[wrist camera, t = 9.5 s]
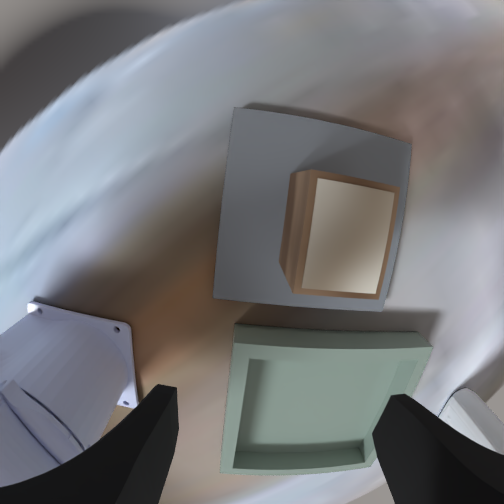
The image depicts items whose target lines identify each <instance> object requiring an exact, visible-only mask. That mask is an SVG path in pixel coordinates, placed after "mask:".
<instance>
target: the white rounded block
mask: <svg viewBox="0 0 504 504" xmlns="http://www.w3.org/2000/svg"><path fill="white" fill-rule="evenodd" d="M438 418H440V419H441V420H442V421H444V422H445V423H447V424H448V425H449V426H451V427H452V428H454V429H455V430H457V431H458V432H460V433H461V434H463V435H465V436H466V437H468V438H469V439H471V440H473V441H475V442H476V443H478V444H480V445H482V446H484V447H486V448H488V449H490V450H493V451H495V452H497V453H500V454H503V455H504V424H503V422H502V421H501V420H500V419H499V418H498V417H497V415H496V414H495V413H494V412H493V411H492V410H491V409H490V408H489V407H488V406H487V404H486V403H485V402H484V401H483V400H482V399H481V398H480V397H479V396H478V395H477V394H476V393H475V392H474V391H471V390H470V389H468V388H463V389H461V390H459V391H457V392H455V393H454V394H453V396H452V397H451V398H450V399H449V401H448V402H447V404H446V405H445V407H444V409H443V410H442V412H441V414H440V416H439V417H438Z"/></svg>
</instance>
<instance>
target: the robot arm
mask: <svg viewBox="0 0 504 504" xmlns="http://www.w3.org/2000/svg"><path fill="white" fill-rule="evenodd" d="M27 308H28V315H27V316H25V317H24V318H23V319H21V320H20V321H18V322H17V323H16V324H14V325H13V326H12V327H10V328H9V329H8V330H6V331H5V332H4V333H2V334H1V335H0V504H158V503H159V500H160V496H161V493H162V490H163V487H164V484H165V481H166V478H167V475H168V472H169V468H170V465H171V462H172V459H173V456H174V452H175V447H176V441H177V436H178V431H179V423H178V404H177V387H171V386H165V385H160V384H158V385H156V386H155V387H154V388H153V389H152V390H151V391H150V392H149V394H148V395H147V396H146V397H145V398H144V399H143V400H142V401H141V402H140V403H139V402H138V395H137V387H136V378H135V369H134V359H133V347H132V332H131V327H130V326H129V325H128V324H127V323H124V322H119V321H114V320H109V319H104V318H99V317H95V316H90V315H86V314H81V313H77V312H73V311H68V310H64V309H60V308H56V307H52V306H48V305H45V304H41V303H37V302H34V301H31V302H29V303H28V304H27ZM41 310H42V311H41ZM115 326H116V327H118V328H119V329H120V331H119V330H117V329H116V327H115ZM126 401H127V402H126ZM116 405H121V406H125V407H129V408H134V409H133V410H132V411H131V412H130V413H129V414H128V415H127V416H126V417H125V418H124V419H123V420H122V421H121V422H120V423H119V424H118V425H117V426H115V427H114V428H113V429H112V430H111V431H110V432H108V433H107V434H106V435H105V436H103V437H102V438H101V439H100V437H101V435H102V433H103V431H104V429H105V427H106V425H107V423H108V421H109V419H110V417H111V415H112V413H113V411H114V409H115V407H116ZM372 437H373V442H374V446H375V450H376V454H377V458H378V460H379V463H380V466H381V468H382V471H383V473H384V476H385V478H386V481H387V484H388V486H389V489H390V491H391V494H392V496H393V499H394V502H395V504H504V455H503V454H500V453H497V452H495V451H493V450H490V449H488V448H486V447H484V446H482V445H480V444H478V443H476V442H475V441H473V440H471V439H469V438H468V437H466V436H465V435H463V434H461V433H460V432H458V431H457V430H455V429H454V428H452V427H451V426H449V425H448V424H447V423H445V422H444V421H442V420H441V419H440V418H438V417H437V416H436V415H434V414H433V413H432V412H430V411H429V410H428V409H426V408H425V407H424V406H422V405H421V404H419V403H418V402H417V401H415V400H414V399H412V398H411V397H410V396H408V395H406V394H396V395H391V396H390V398H389V400H388V403H387V405H386V407H385V409H384V411H383V413H382V415H381V417H380V419H379V421H378V422H377V424H376V426H375V428H374V430H373V432H372ZM99 439H100V440H99Z"/></svg>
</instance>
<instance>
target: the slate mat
mask: <svg viewBox="0 0 504 504" xmlns="http://www.w3.org/2000/svg"><path fill="white" fill-rule="evenodd" d="M411 147H412V144H410V143H406V142H403V141H400V140H397V139H393V138H390V137H387V136H383V135H380V134H376V133H372V132H369V131H365V130H361V129H357V128H353V127H349V126H345V125H340V124H336V123H331V122H327V121H322V120H317V119H312V118H306V117H301V116H295V115H289V114H283V113H276V112H269V111H262V110H254V109H245V108H236V107H234V111H233V118H232V125H231V133H230V140H229V148H228V156H227V164H226V172H225V180H224V189H223V197H222V206H221V215H220V225H219V234H218V244H217V255H216V265H215V276H214V287H213V298H215V299H224V300H233V301H242V302H252V303H262V304H273V305H285V306H297V307H309V308H323V309H339V310H356V311H377V312H382V311H383V307H384V304H385V300H386V296H387V292H388V288H389V284H390V280H391V276H392V272H393V267H394V263H395V258H396V253H397V249H398V244H399V238H400V233H401V227H402V222H403V215H404V209H405V202H406V195H407V188H408V179H409V170H410V160H411ZM310 169H312V170H318V171H324V172H329V173H335V174H340V175H346V176H351V177H356V178H361V179H365V180H370V181H375V182H379V183H384V184H388V185H393V186H397V187H400V192H399V199H398V206H397V213H396V219H395V226H394V231H393V237H392V242H391V247H390V253H389V257H388V262H387V267H386V271H385V276H384V280H383V284H382V288H381V293H380V296H379V300H374V299H358V298H343V297H329V296H316V295H304V294H293V293H292V291H291V288H290V286H289V284H288V282H287V279H286V277H285V275H284V273H283V271H282V268H281V266H280V264H279V255H280V248H281V241H282V234H283V227H284V219H285V212H286V204H287V196H288V189H289V181H290V174H291V173H296V172H301V171H305V170H310Z"/></svg>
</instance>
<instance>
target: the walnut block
mask: <svg viewBox="0 0 504 504" xmlns="http://www.w3.org/2000/svg"><path fill="white" fill-rule="evenodd" d="M399 192H400V187H397V186H393V185H388V184H384V183H379V182H375V181H370V180H365V179H361V178H356V177H351V176H346V175H340V174H335V173H329V172H324V171H318V170H312V169H310V170H305V171H301V172H296V173H291V174H290V181H289V189H288V196H287V204H286V212H285V219H284V227H283V234H282V241H281V248H280V255H279V264H280V266H281V268H282V271H283V273H284V275H285V277H286V279H287V282H288V284H289V286H290V288H291V291H292V293H293V294H304V295H316V296H329V297H343V298H358V299H374V300H379V296H380V293H381V288H382V284H383V280H384V276H385V271H386V267H387V262H388V257H389V253H390V247H391V242H392V237H393V231H394V226H395V219H396V213H397V206H398V199H399Z"/></svg>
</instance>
